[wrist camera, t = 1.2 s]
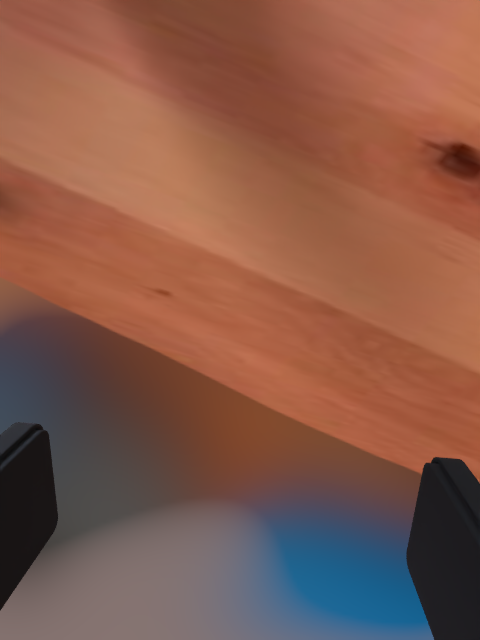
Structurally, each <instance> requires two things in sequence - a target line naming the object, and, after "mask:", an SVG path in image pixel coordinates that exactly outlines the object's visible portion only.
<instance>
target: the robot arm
mask: <svg viewBox="0 0 480 640" xmlns="http://www.w3.org/2000/svg"><path fill="white" fill-rule="evenodd" d="M57 521H58V513H57V504H56V495H55V485H54V477H53V468H52V459H51V450H50V442H49V434H48V432H47V431H45V430H43V427H42V426H41V425H39V424H32V423H20V422H18V423H14V424H13V425H11V426H10V427H9V428H8V429H7V430H5V431H4V432H3V433H2V434H1V435H0V610H1V609H2V607H3V606H4V604H5V603H6V601H7V600H8V598H9V597H10V596H11V594H12V592H13V591H14V590H15V588H16V587H17V585H18V584H19V582H20V581H21V579H22V578H23V576H24V575H25V574H26V572H27V571H28V569H29V568H30V566H31V565H32V563H33V562H34V560H35V559H36V557H37V556H38V554H39V553H40V551H41V550H42V548H43V547H44V546H45V544H46V543H47V541H48V540H49V538H50V537H51V535H52V534H53V532H54V530H55V528H56V525H57ZM407 565H408V569H409V572H410V575H411V577H412V580H413V583H414V585H415V588H416V591H417V594H418V596H419V599H420V602H421V604H422V607H423V610H424V613H425V615H426V618H427V621H428V623H429V626H430V629H431V631H432V634H433V637H434V640H480V483H479V482H478V480H477V479H476V478H475V476H474V475H473V474H472V472H471V471H470V470H469V468H468V467H467V466H466V464H465V463H464V462H463V461H462V460H460V459H451V458H439V457H435V458H433V460H432V461H431V463H426V464H425V465H424V468H423V473H422V478H421V483H420V487H419V492H418V498H417V502H416V507H415V512H414V517H413V522H412V528H411V532H410V538H409V543H408V548H407Z"/></svg>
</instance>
